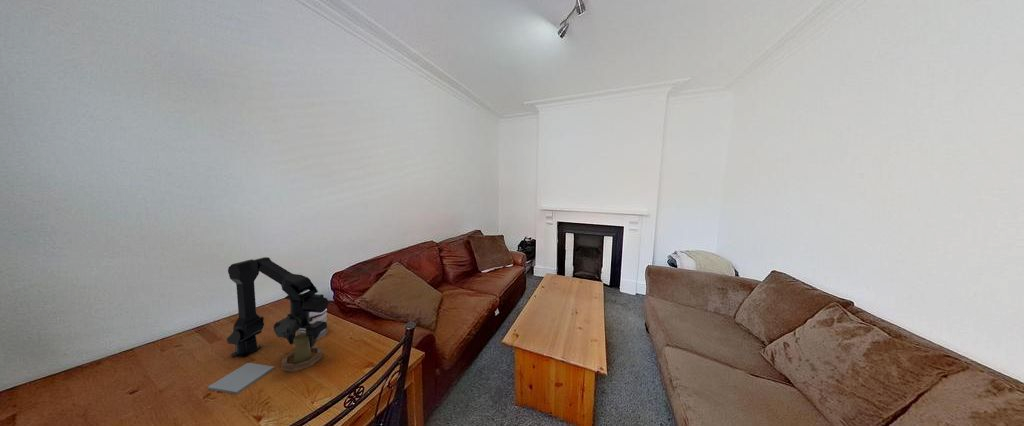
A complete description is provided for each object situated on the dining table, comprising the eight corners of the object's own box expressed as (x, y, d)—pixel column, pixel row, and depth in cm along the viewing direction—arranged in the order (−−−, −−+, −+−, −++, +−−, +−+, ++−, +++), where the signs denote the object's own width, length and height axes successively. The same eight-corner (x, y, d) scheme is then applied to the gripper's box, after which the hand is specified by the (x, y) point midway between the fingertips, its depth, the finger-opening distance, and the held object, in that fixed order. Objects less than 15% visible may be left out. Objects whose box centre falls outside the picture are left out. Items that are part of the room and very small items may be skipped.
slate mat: (207, 389, 86) (207, 386, 86) (248, 364, 98) (247, 362, 98) (236, 394, 84) (236, 391, 84) (274, 368, 96) (274, 366, 96)
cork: (301, 366, 98) (299, 340, 97) (289, 363, 99) (287, 338, 98) (316, 356, 104) (314, 331, 103) (304, 353, 105) (303, 329, 104)
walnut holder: (273, 368, 96) (273, 364, 96) (303, 348, 108) (303, 344, 108) (301, 373, 95) (301, 368, 94) (329, 351, 107) (329, 347, 107)
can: (291, 344, 111) (289, 318, 109) (305, 329, 122) (304, 306, 120) (320, 341, 113) (319, 316, 112) (331, 327, 124) (331, 304, 123)
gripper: (256, 317, 92) (259, 355, 94) (301, 322, 90) (303, 362, 92) (287, 303, 103) (289, 338, 105) (327, 307, 101) (328, 343, 103)
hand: (301, 345), depth 101 cm, fingers open, 9 cm apart
